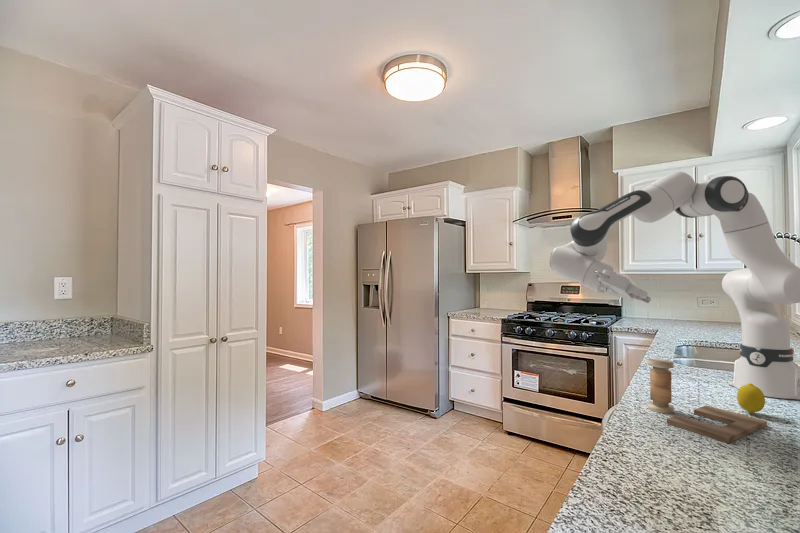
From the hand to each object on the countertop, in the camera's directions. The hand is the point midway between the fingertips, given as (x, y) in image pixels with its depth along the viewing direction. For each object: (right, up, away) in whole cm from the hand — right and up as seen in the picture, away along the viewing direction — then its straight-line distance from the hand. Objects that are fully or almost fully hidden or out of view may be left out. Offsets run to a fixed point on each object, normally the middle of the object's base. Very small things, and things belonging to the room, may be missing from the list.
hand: (648, 298), depth 109 cm
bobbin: (+1, -30, -4) cm, 30 cm away
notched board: (+8, -30, -14) cm, 34 cm away
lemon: (+23, -30, -6) cm, 39 cm away
